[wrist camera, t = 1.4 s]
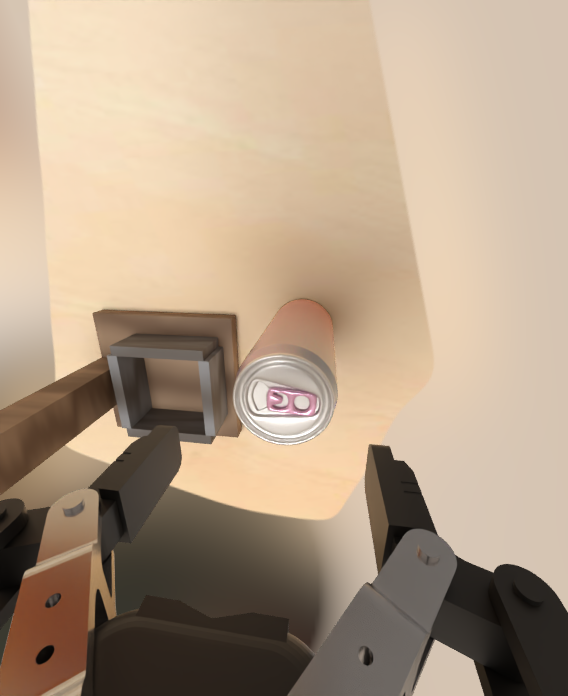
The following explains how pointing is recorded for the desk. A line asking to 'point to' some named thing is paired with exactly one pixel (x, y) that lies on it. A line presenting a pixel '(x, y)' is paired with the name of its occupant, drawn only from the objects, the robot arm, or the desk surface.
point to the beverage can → (289, 377)
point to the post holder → (132, 387)
